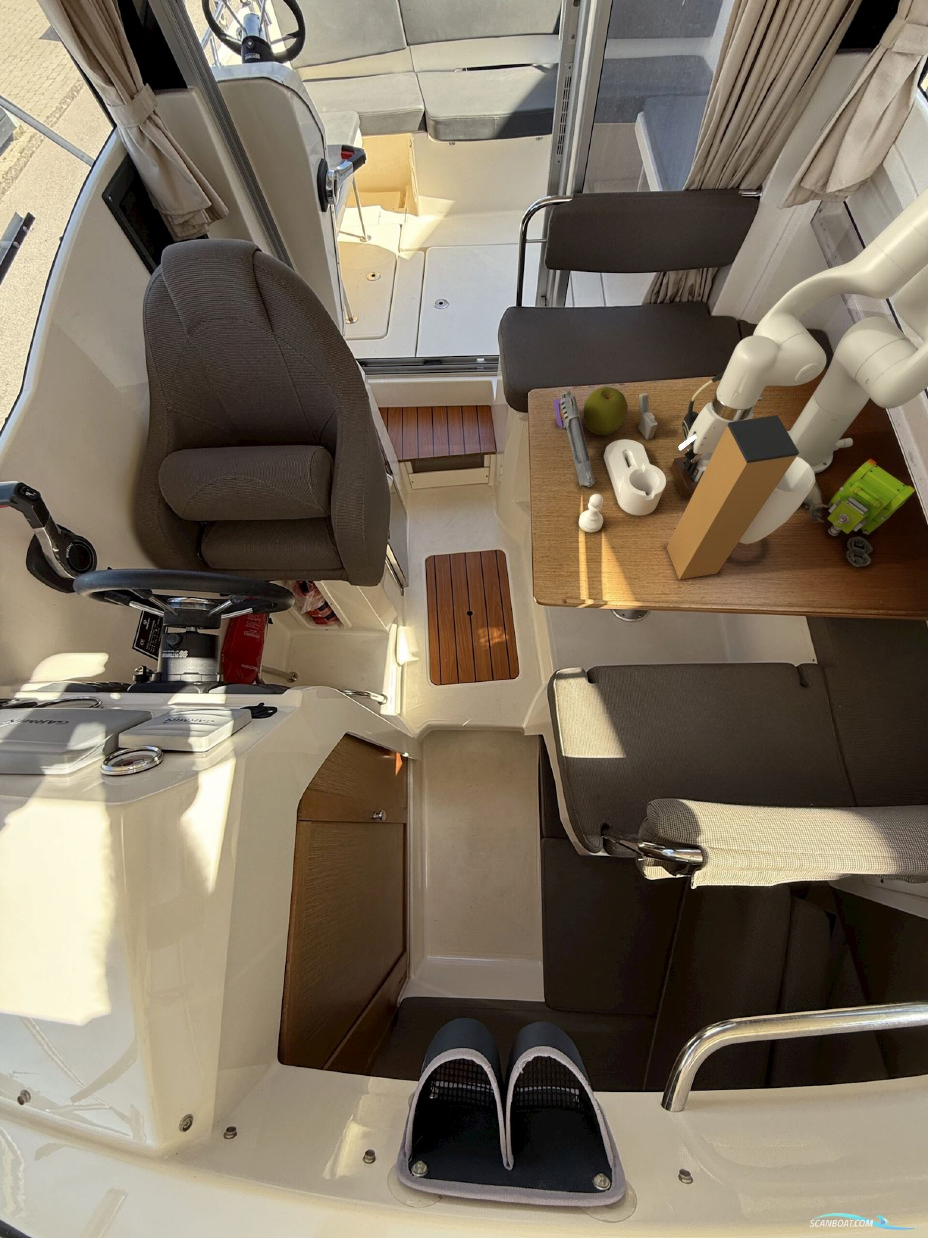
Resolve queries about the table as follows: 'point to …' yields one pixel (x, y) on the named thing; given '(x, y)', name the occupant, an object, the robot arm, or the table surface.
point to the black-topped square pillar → (730, 494)
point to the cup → (782, 501)
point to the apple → (605, 410)
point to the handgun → (574, 436)
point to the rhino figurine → (815, 503)
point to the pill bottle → (701, 466)
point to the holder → (683, 478)
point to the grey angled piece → (646, 417)
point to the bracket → (634, 477)
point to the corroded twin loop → (859, 551)
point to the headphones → (691, 414)
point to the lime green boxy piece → (866, 500)
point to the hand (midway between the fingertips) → (701, 468)
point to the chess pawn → (592, 515)
